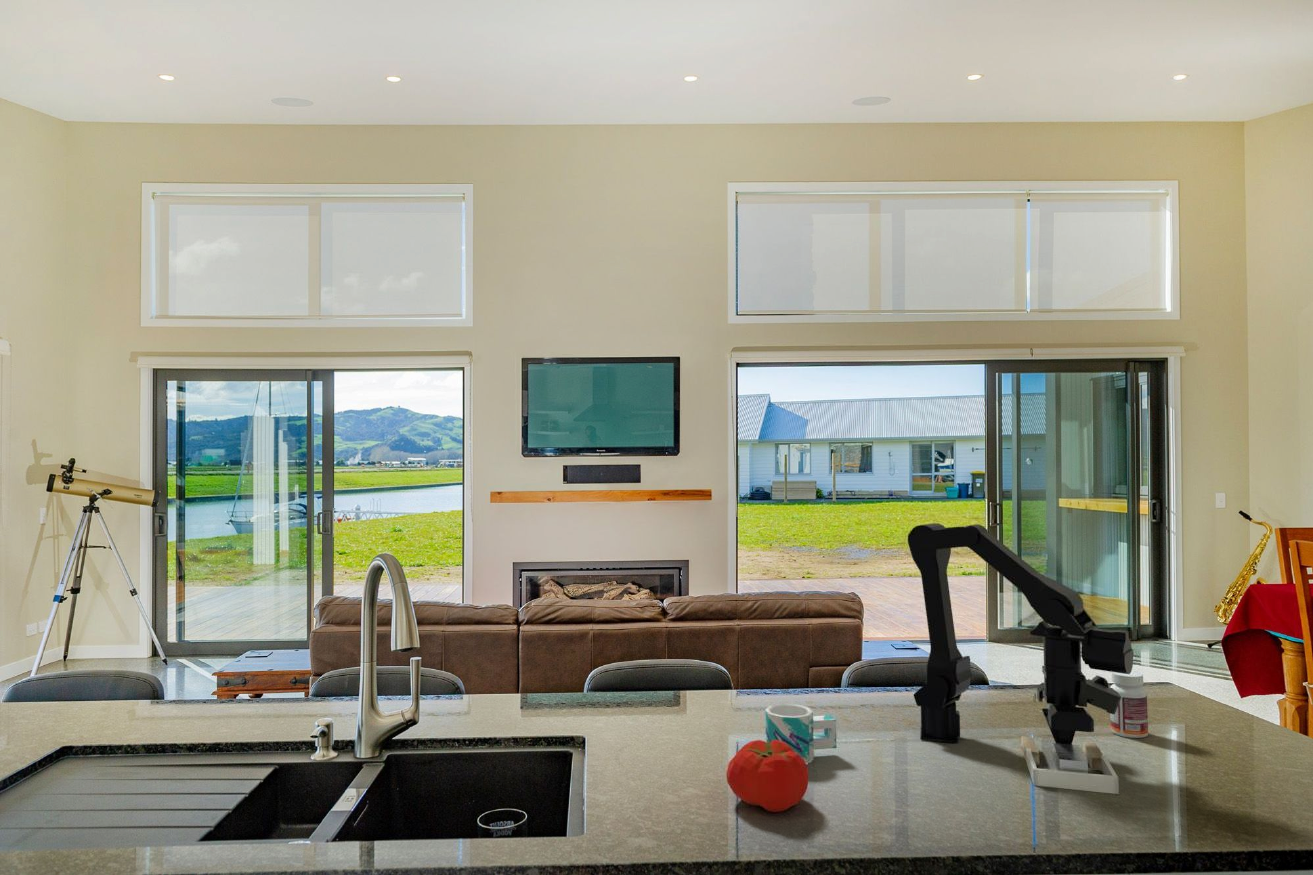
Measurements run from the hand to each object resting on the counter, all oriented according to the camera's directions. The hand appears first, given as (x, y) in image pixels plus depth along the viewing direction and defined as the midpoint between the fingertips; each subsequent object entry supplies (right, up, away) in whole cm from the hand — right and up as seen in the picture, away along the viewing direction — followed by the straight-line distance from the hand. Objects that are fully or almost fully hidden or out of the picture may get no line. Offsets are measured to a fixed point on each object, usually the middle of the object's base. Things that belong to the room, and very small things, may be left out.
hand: (1064, 757), depth 140 cm
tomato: (-52, -2, -15) cm, 54 cm away
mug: (-44, -2, +5) cm, 44 cm away
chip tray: (-2, -1, -6) cm, 6 cm away
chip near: (-2, -1, -7) cm, 8 cm away
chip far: (-1, -1, -3) cm, 4 cm away
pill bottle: (+20, -2, +15) cm, 25 cm away
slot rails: (+1, -1, +3) cm, 3 cm away
